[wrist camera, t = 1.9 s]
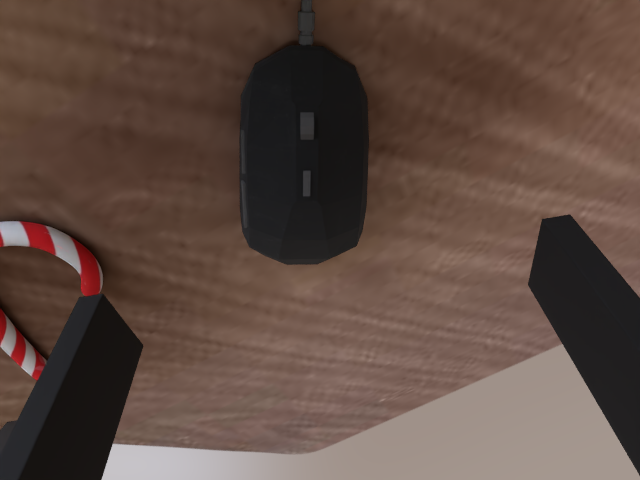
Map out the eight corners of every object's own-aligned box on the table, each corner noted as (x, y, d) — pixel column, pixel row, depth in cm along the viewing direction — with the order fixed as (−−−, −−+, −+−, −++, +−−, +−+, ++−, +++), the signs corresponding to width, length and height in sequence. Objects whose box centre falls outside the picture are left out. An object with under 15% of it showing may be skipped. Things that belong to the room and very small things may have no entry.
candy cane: (-8, 383, 30) (-81, 219, 20) (1, 367, 31) (-64, 203, 21) (110, 391, 31) (93, 243, 22) (115, 376, 32) (101, 227, 23)
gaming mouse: (391, -41, 16) (416, -22, 13) (353, 252, 25) (363, 302, 22) (220, -49, 15) (204, -30, 12) (248, 253, 25) (243, 305, 22)
